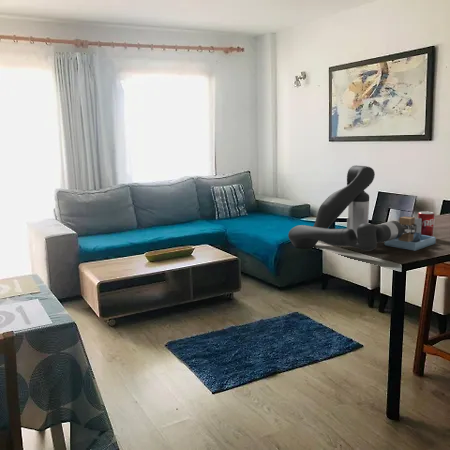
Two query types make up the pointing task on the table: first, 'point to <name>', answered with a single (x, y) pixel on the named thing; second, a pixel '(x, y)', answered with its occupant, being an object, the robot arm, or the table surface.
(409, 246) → the tote
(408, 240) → the brown rectangular block
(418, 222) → the metal cylinder
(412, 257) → the table surface
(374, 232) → the robot arm
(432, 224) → the soda can
